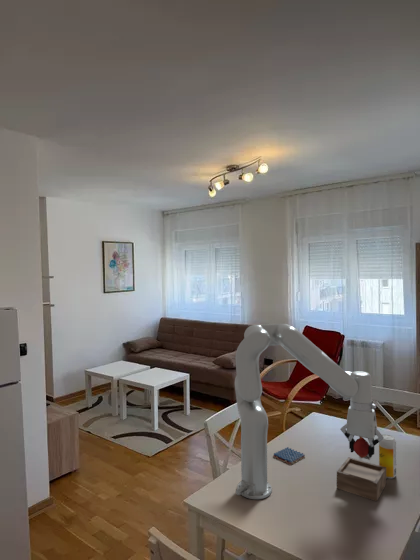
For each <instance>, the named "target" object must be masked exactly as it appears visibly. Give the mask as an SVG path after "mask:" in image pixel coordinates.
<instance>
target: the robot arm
mask: <svg viewBox="0 0 420 560" xmlns="http://www.w3.org/2000/svg"><path fill="white" fill-rule="evenodd" d="M243 334H244V335H243V337H244V338H243V340H241V342H240V343H239V345H238V346H237V348H236V351H235V357H234V359H235V372H236V375H235V378H234V390H235V391H234V392H235V398H236V407H237V412H238V415H239V419H240V422H241V423H240V426H241V433H240V453H241V455H240V456H241V459H240V460H241V461H240V462H241V465H240V466H241V471H240V472H241V480H240V482H238V484H237V486H236V487H237V489H235V494H236V496H241V497H245V498H246V499H250V500H262V499H265V498H268V497H269V496H271V495H272V489H273V488H272V487H273V486H272V485H271V483H269V481H268V430H269V417H268V414H267V412H266V410H265V408H264V407H263V405H262V400H261V396H262V395H263V394H262V393H263V384H262V380H261V379H262V378H261V371H260V362H259V361H260V356H261V354H262V353H263V352H264V351H265V350H267V349H268V347H270V346H280V347H282V348H283V349H284V350H285V351H287V353H289V354H290V355H291V356H292V357H293V358H295V359H296V360H297V361H298V362H299V363H300V364H302V366H304V367H305V368H306V369H307V370H309V371H310V372H311V373H313V374H314V375H316V376H317V377H319V379H321V380H323V381H324V382H325V383H326V384H328V386H329V387H330V388H331V389H332V390H333V391H335V392H336V393H337V394H339V395H340V396H341V397H342V398H347V399H349V400H350V403H349V404H350V405H349V407H348V409H347V416H346V423H345V424H344V425H343V426H342V427H341V428H340V431H341V432H342V434H343V435H344V436H345V438H346V439H347V441H348V447H349V449H350V453H355V451H354V448H353V445H354V442H355V441H356V440H355V436H356V437H359V438H360V437H363V438H364V439H367V442H368V443H369V457H370V458H372V457H373V455H375V446H376V445H377V444H379V442H380V441H382V440H383V439H384V437H383V436H382V435H383V434H382V433H381V432H380V431H379V430H378V424H377V417H376V411H375V410H376V408H377V405H376V404H375V403H373V398H372V397H373V395H372V394H373V392H372V391H373V386H372V385H373V383H372V381H373V380H372V375H371V374H370V373H369V372H368V371H361V370H358V371H357V370H355V371H346V370H344V369H343V368H342V367H341V366H340V365H339V364H338V363H336V362H335V361H334V360H333V359H332V358H330V357H329V356H328V355H327V353H325V352H324V351H323V350H321V349H320V347H318V346H316V344H314V343H313V342H312V341H311V340H310V339H309V338H308V337H306V336H305V335H304V334H303V333H302V332H301V331H299V330H298V329H297V328H296V327H294V326H292V325H290V324H287V323H272V324H271V323H268V324H253V325H252V324H251V325H250V326H248V327H247V328H246V329H245V331H244V333H243ZM375 436H377V438H375ZM369 457H368V458H369Z"/></svg>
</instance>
